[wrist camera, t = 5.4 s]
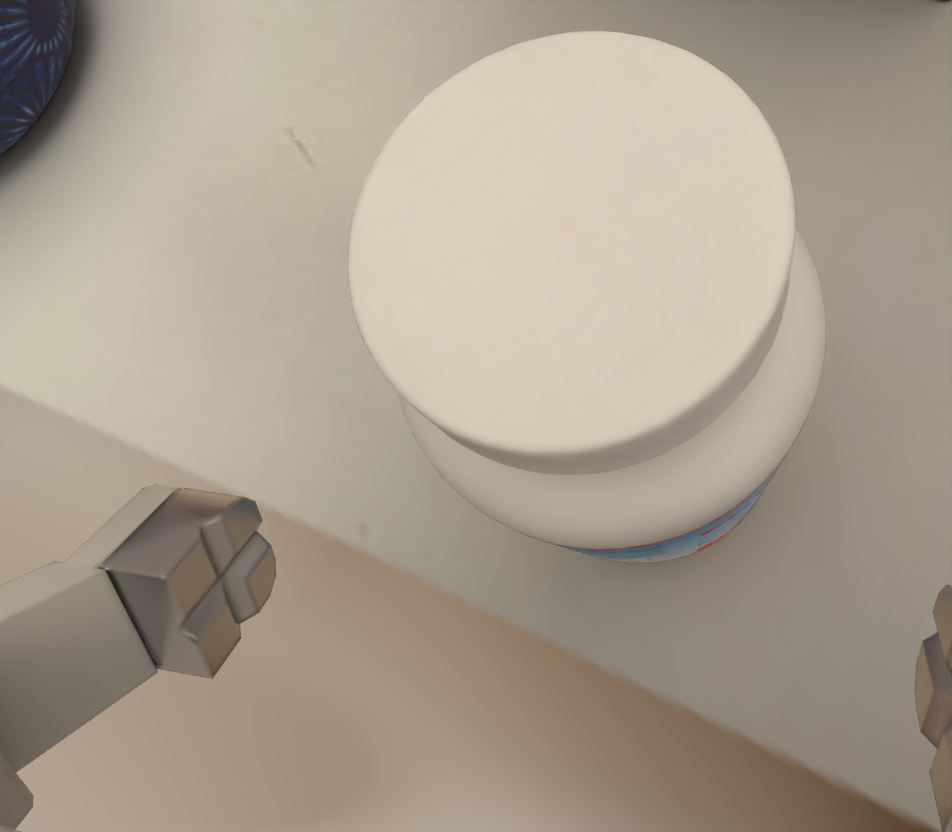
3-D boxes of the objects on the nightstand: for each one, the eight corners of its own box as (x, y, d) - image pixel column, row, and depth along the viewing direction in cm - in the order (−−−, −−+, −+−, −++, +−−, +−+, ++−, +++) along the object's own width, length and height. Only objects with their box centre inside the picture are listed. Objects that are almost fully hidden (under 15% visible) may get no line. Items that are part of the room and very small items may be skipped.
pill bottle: (766, 578, 16) (893, 573, 6) (503, 549, 18) (238, 506, 8) (775, 320, 18) (897, -75, 7) (527, 317, 19) (325, 1, 9)
